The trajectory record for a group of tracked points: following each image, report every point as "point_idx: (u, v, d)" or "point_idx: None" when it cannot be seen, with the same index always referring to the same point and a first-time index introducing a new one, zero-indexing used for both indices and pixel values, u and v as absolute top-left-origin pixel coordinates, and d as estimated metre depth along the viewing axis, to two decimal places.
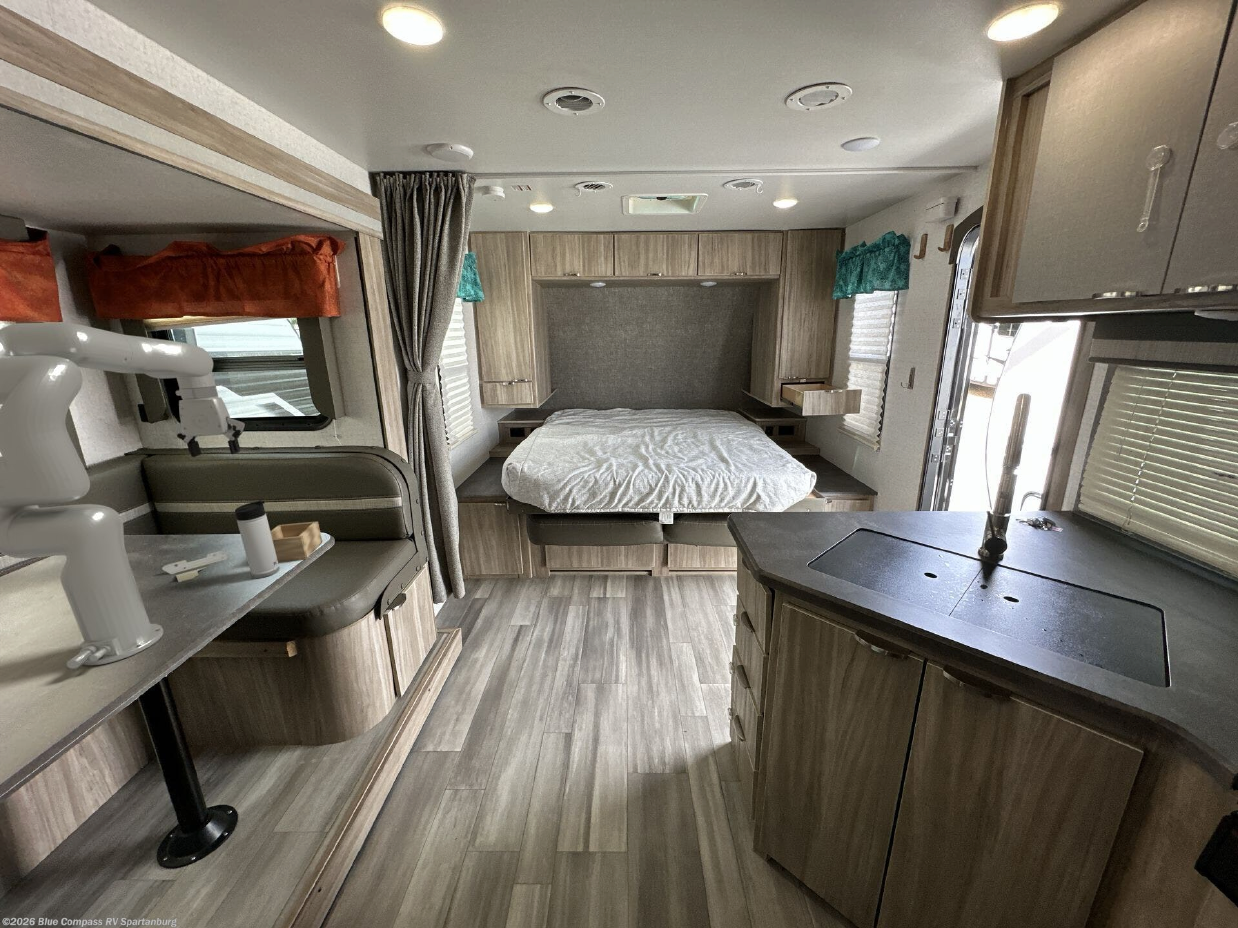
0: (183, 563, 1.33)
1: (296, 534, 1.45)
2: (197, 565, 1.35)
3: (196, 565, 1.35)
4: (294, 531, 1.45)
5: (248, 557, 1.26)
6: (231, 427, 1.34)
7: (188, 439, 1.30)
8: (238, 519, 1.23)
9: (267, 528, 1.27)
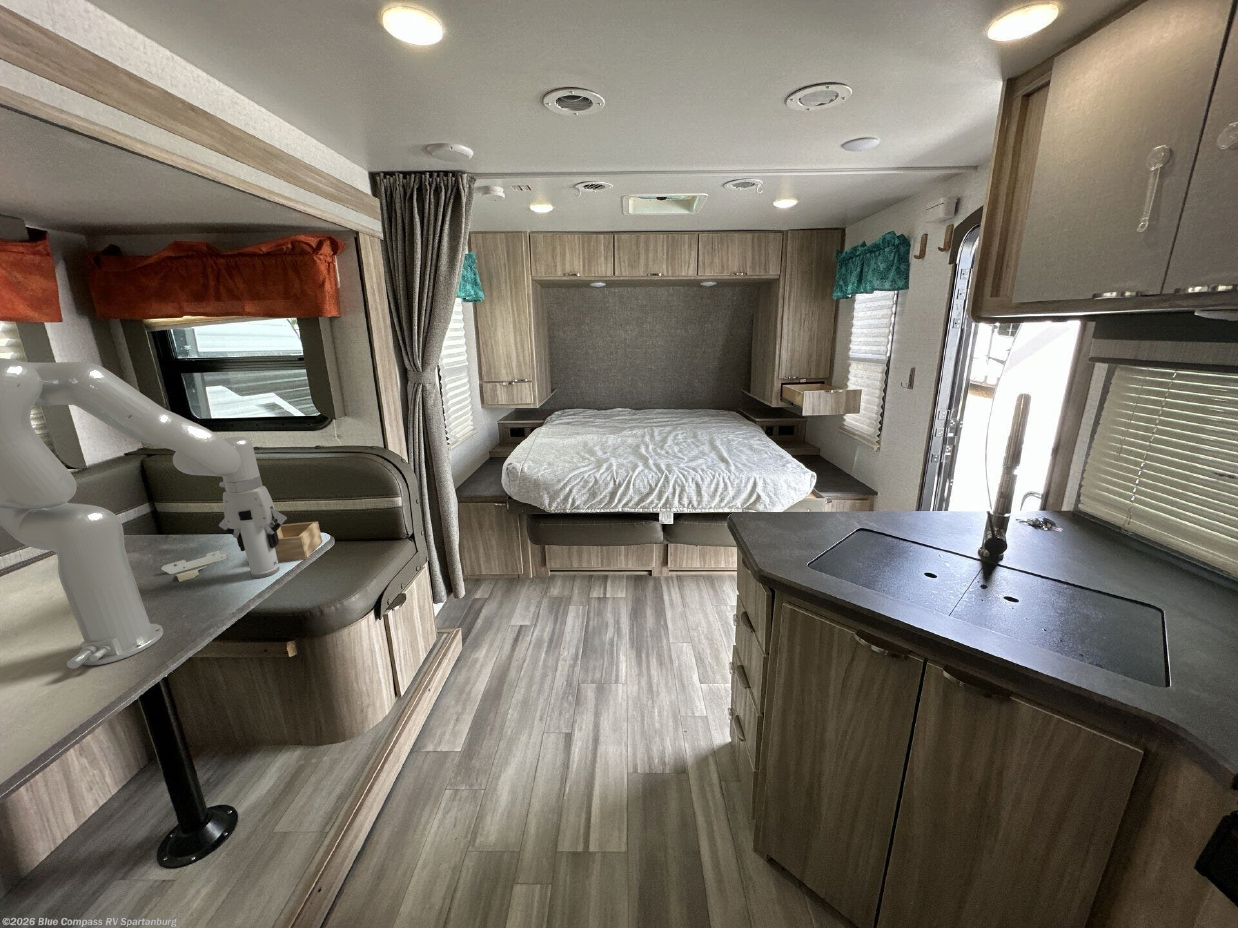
0: (182, 563, 1.33)
1: (296, 534, 1.45)
2: (196, 565, 1.35)
3: (195, 565, 1.35)
4: (294, 531, 1.45)
5: (248, 557, 1.26)
6: None
7: (238, 533, 1.25)
8: None
9: None
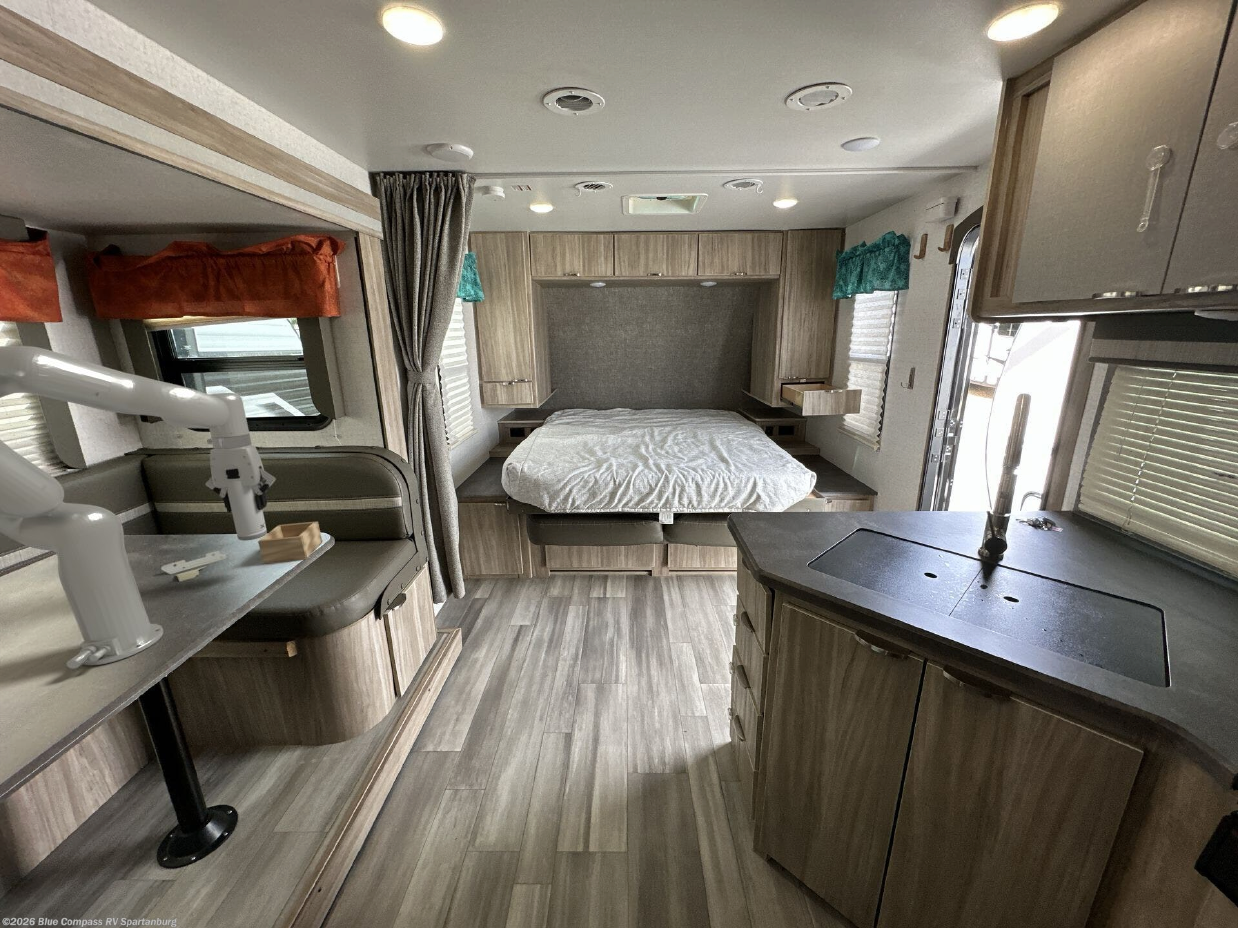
0: (182, 563, 1.33)
1: (296, 534, 1.45)
2: (196, 565, 1.35)
3: (195, 565, 1.35)
4: (294, 531, 1.45)
5: (235, 518, 1.22)
6: None
7: (225, 493, 1.21)
8: None
9: None
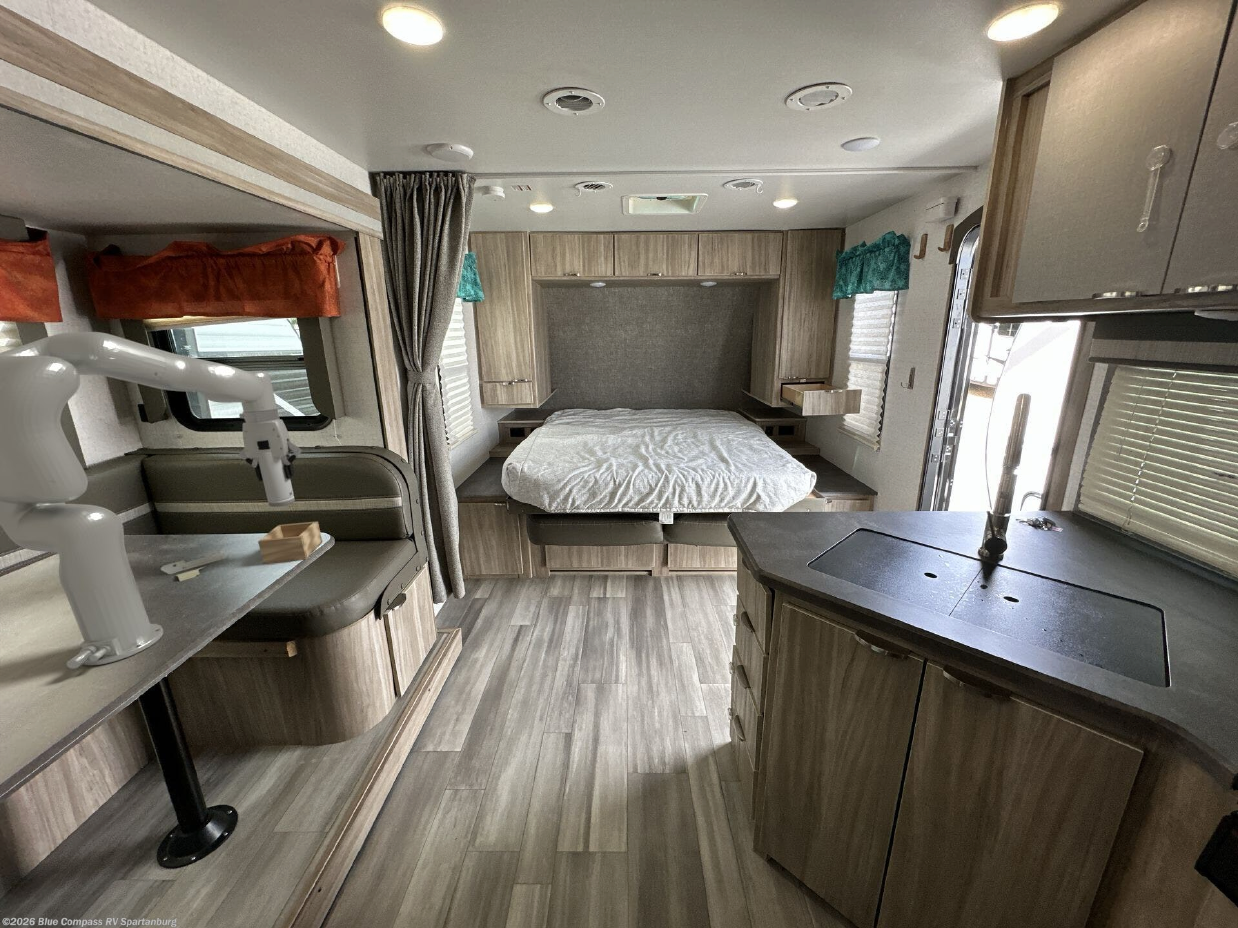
0: (181, 563, 1.33)
1: (296, 534, 1.45)
2: (196, 565, 1.35)
3: (194, 565, 1.35)
4: (294, 531, 1.45)
5: (266, 486, 1.33)
6: (291, 448, 1.36)
7: (256, 463, 1.32)
8: None
9: None
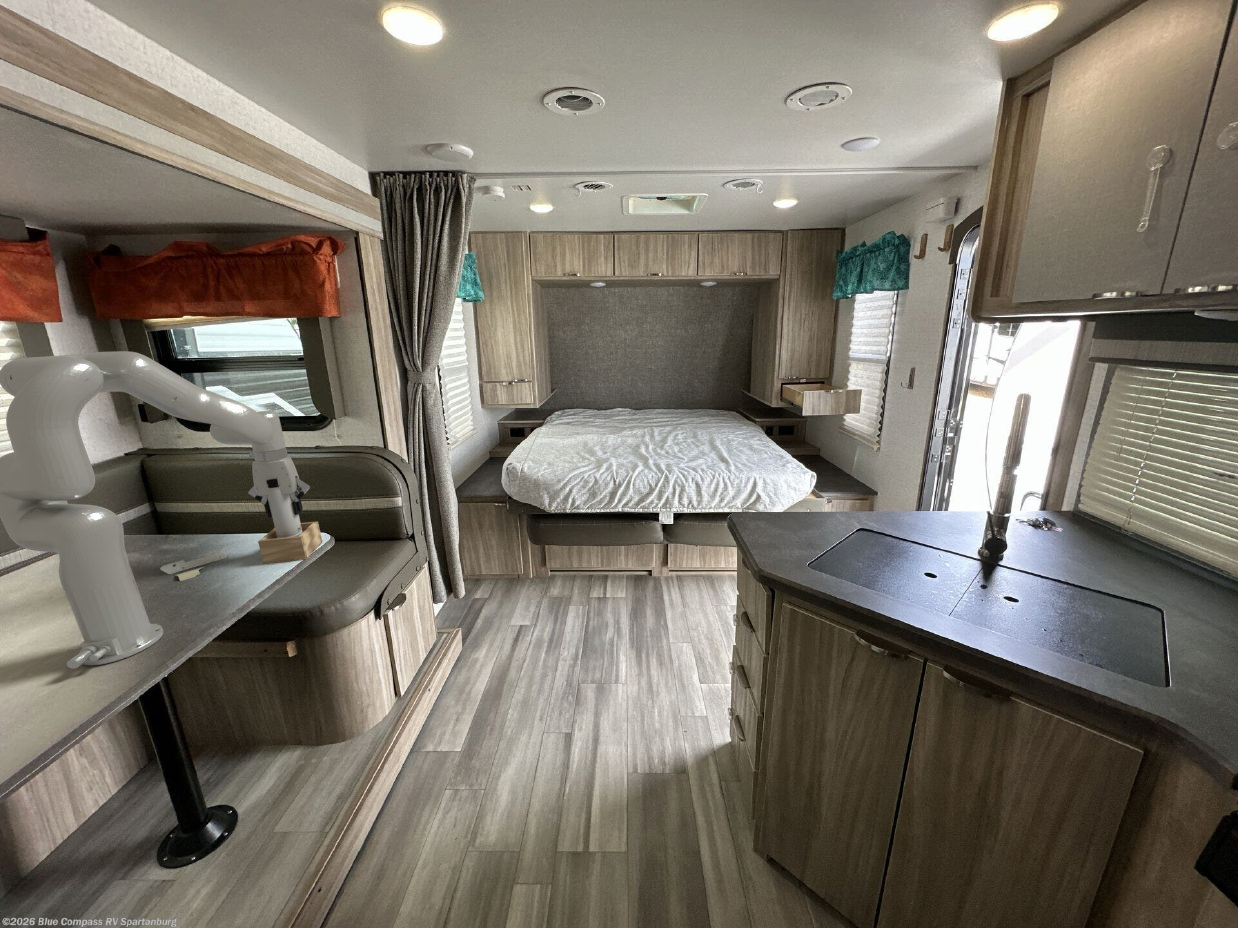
0: (181, 563, 1.33)
1: None
2: (195, 565, 1.35)
3: (194, 565, 1.35)
4: None
5: (275, 522, 1.36)
6: None
7: (265, 501, 1.35)
8: (267, 486, 1.33)
9: None
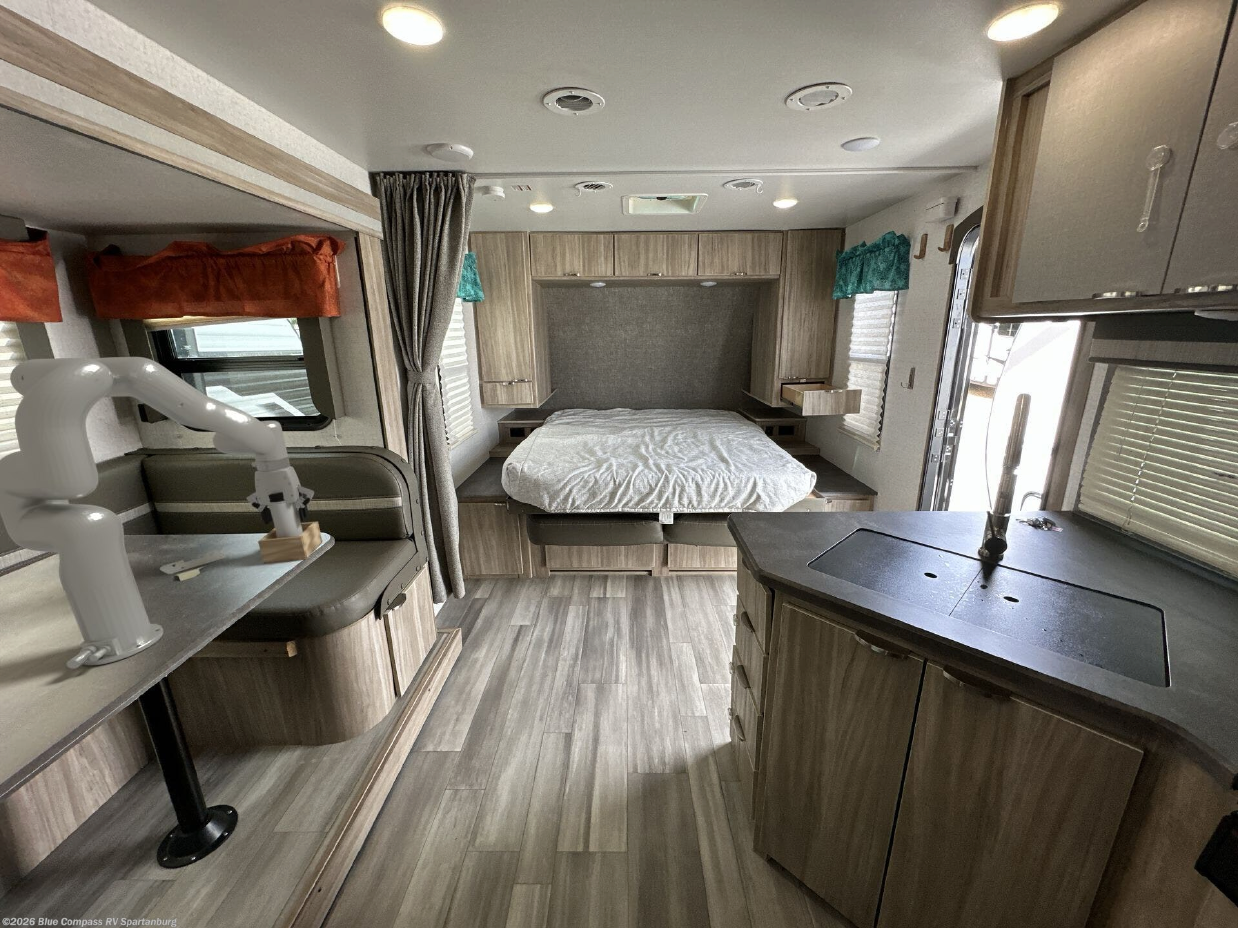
0: (180, 563, 1.33)
1: None
2: (195, 564, 1.35)
3: (194, 565, 1.35)
4: None
5: (279, 536, 1.37)
6: (301, 494, 1.40)
7: (262, 508, 1.36)
8: (270, 501, 1.34)
9: (296, 509, 1.38)
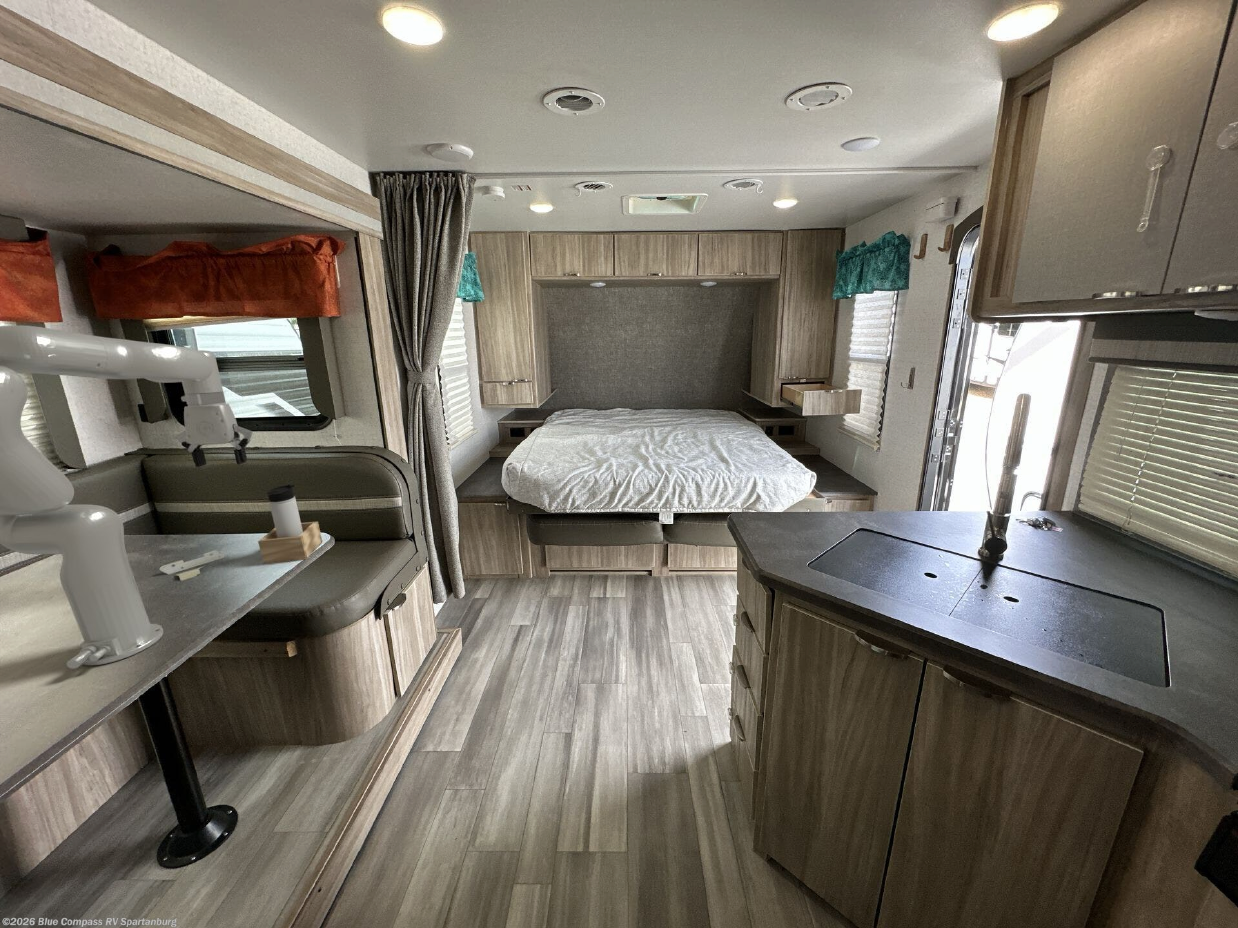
0: (180, 563, 1.33)
1: None
2: (194, 564, 1.35)
3: (193, 565, 1.35)
4: None
5: (279, 536, 1.37)
6: (238, 435, 1.26)
7: (193, 448, 1.22)
8: (271, 501, 1.34)
9: (296, 509, 1.38)
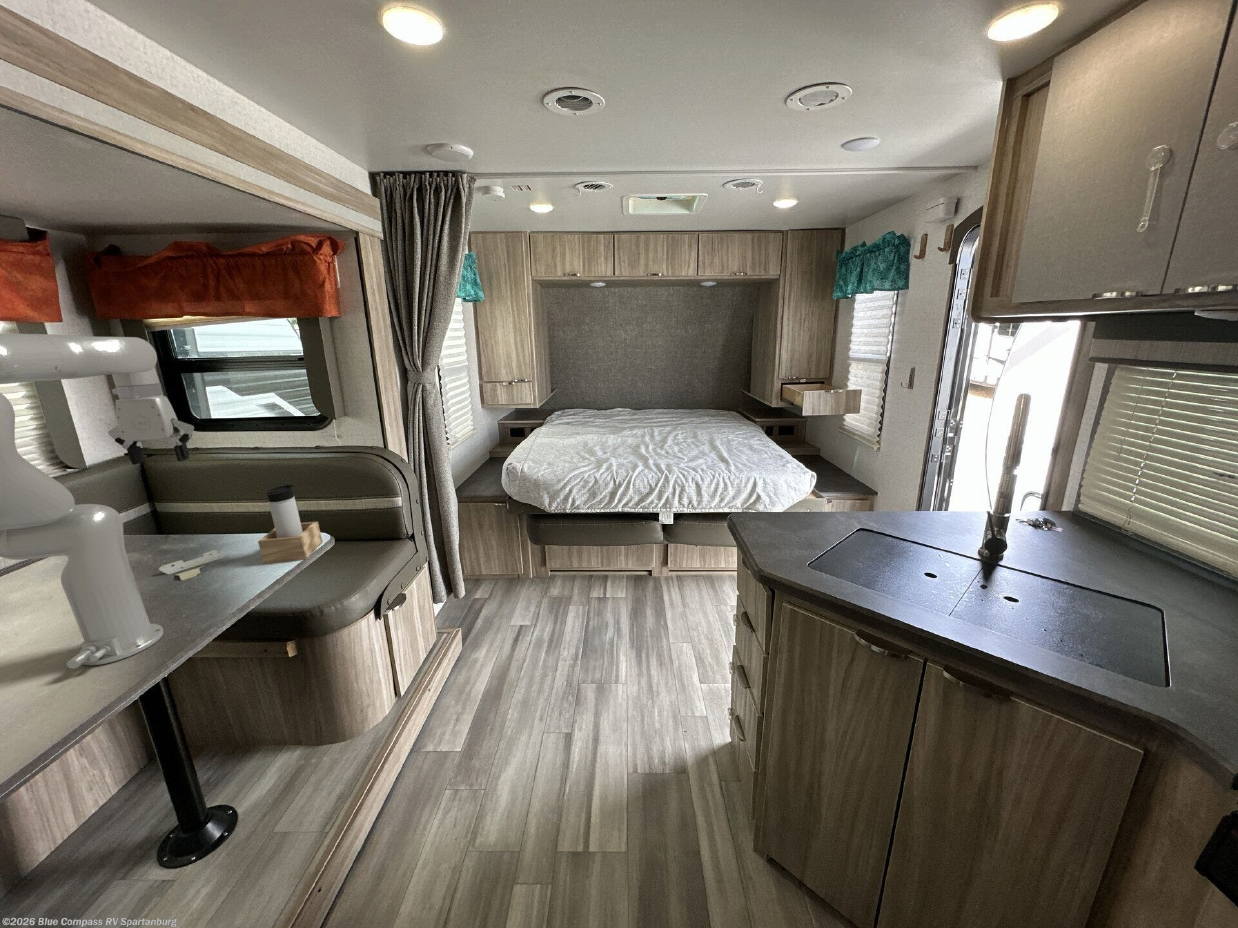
0: (179, 563, 1.33)
1: None
2: (194, 564, 1.35)
3: (193, 565, 1.35)
4: None
5: (279, 536, 1.37)
6: (179, 430, 1.18)
7: (128, 444, 1.14)
8: (270, 501, 1.34)
9: (296, 509, 1.38)
